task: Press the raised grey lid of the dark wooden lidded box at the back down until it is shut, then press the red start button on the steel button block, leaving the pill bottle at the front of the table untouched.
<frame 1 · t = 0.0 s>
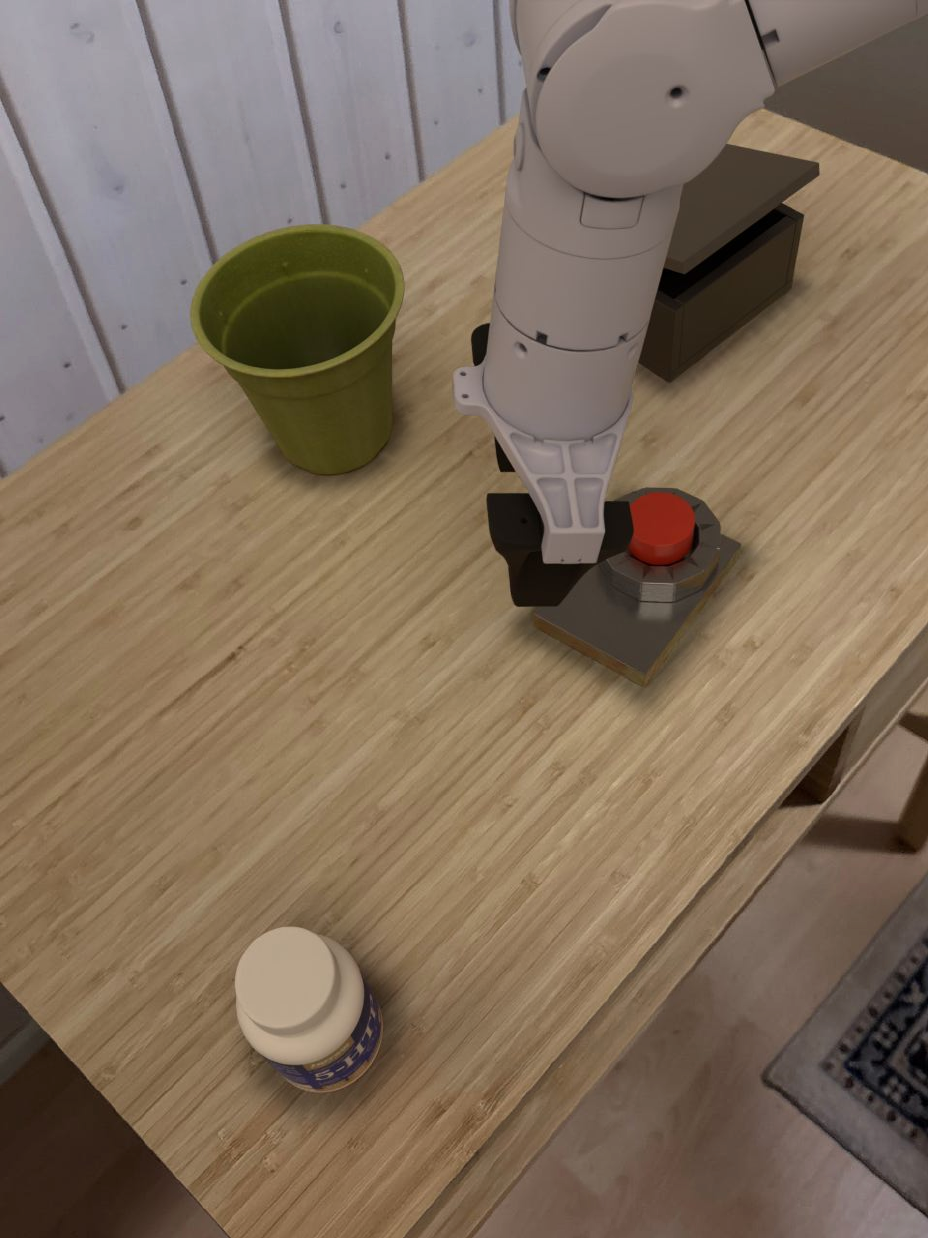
hand: (528, 530, 52), 11 cm above the table, tool pointing down, fingers open, 7 cm apart
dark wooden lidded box: (670, 296, 76), on the table
lid: (679, 198, 69), point 8 cm above the table, hinge at 15.0°
button block: (637, 591, 63), on the table
pill bottle: (328, 1033, 52), on the table
start button: (659, 528, 61), point 4 cm above the table, slide at 0.1 cm
plant pot: (336, 437, 72), on the table
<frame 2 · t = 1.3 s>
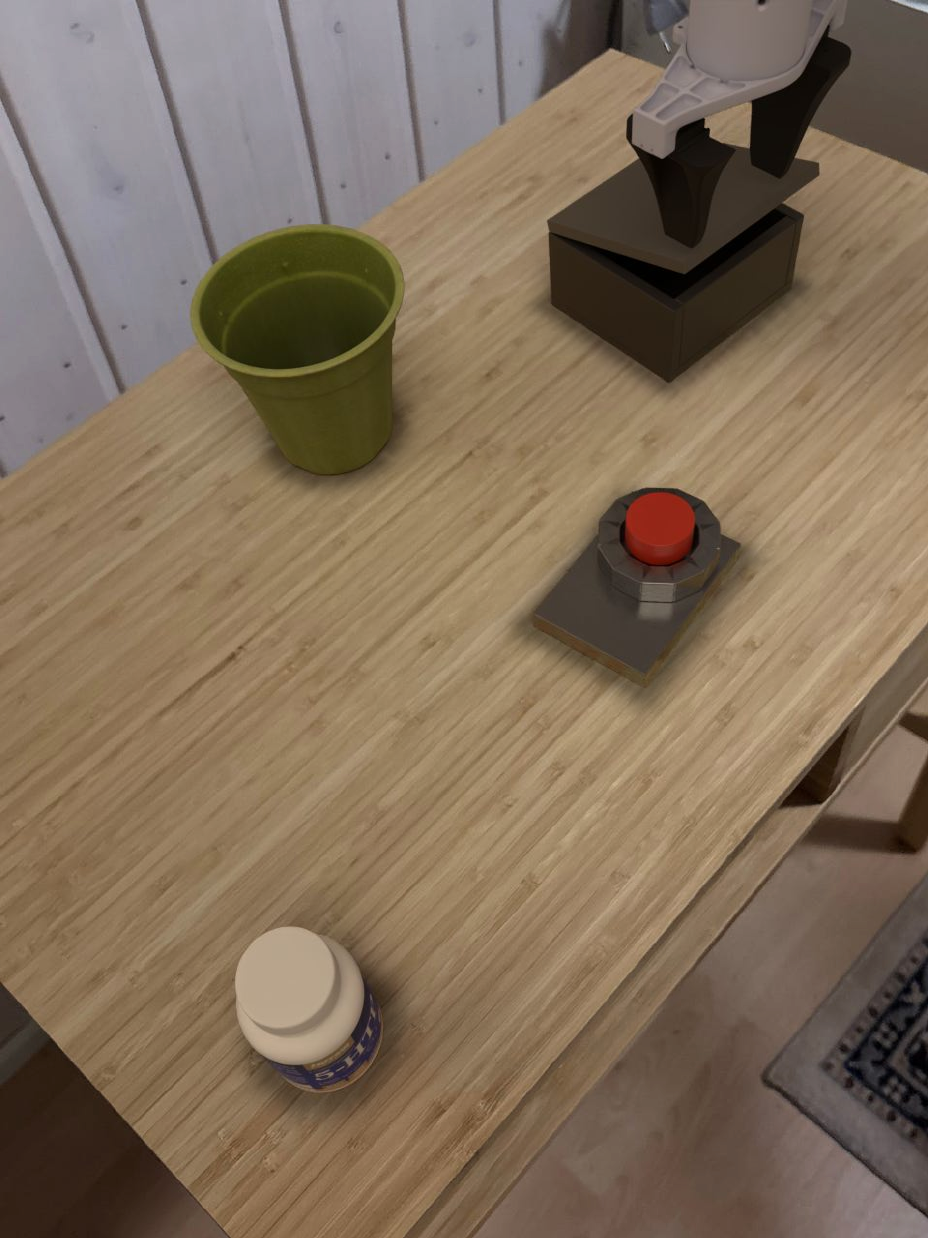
hand: (726, 202, 64), 10 cm above the table, tool pointing down, fingers open, 7 cm apart
nothing on the table moved.
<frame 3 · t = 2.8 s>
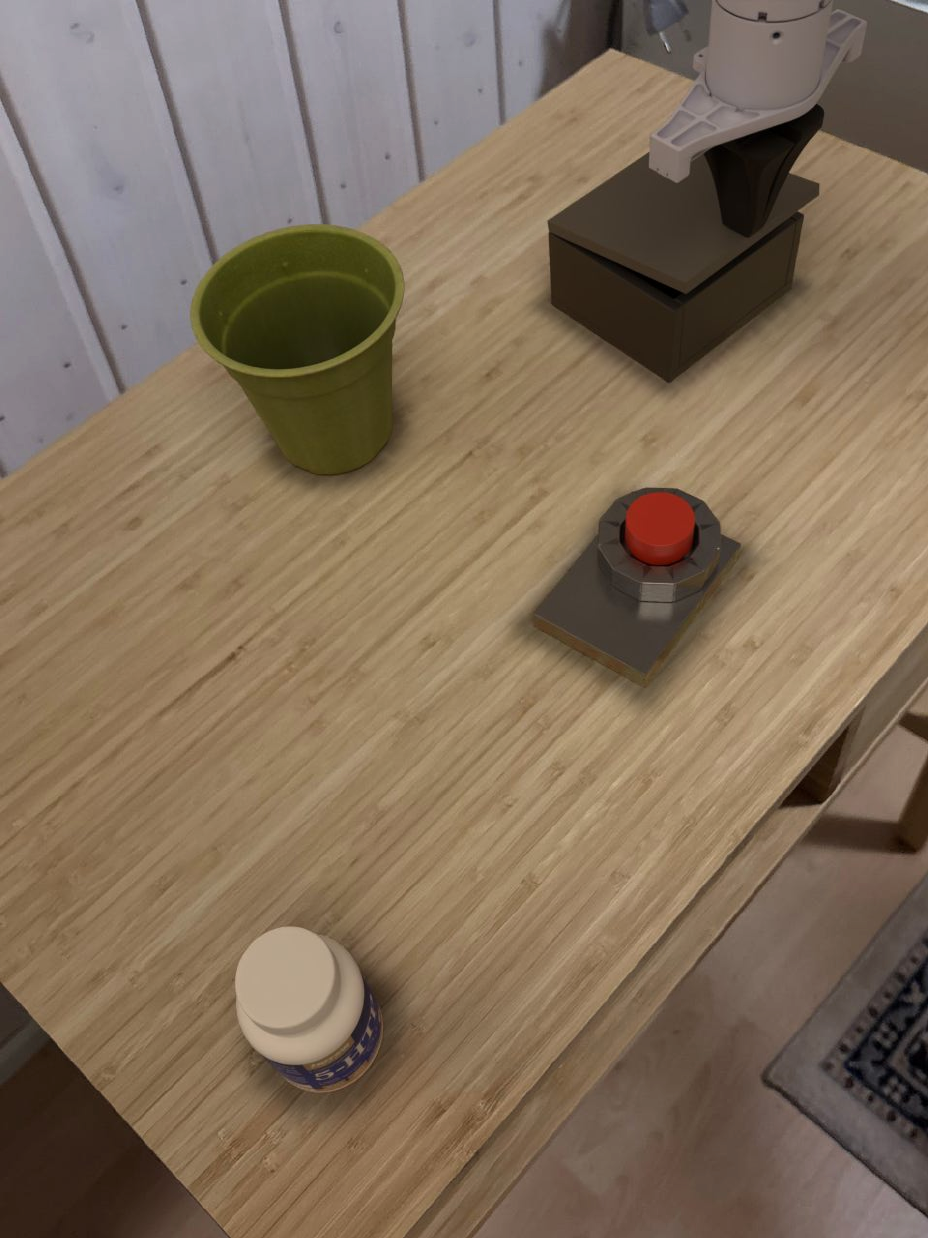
hand: (742, 225, 66), 8 cm above the table, tool pointing down, fingers closed, pressing on lid
lid: (680, 208, 70), point 7 cm above the table, hinge at 8.4°, touching gripper
everything else where it was.
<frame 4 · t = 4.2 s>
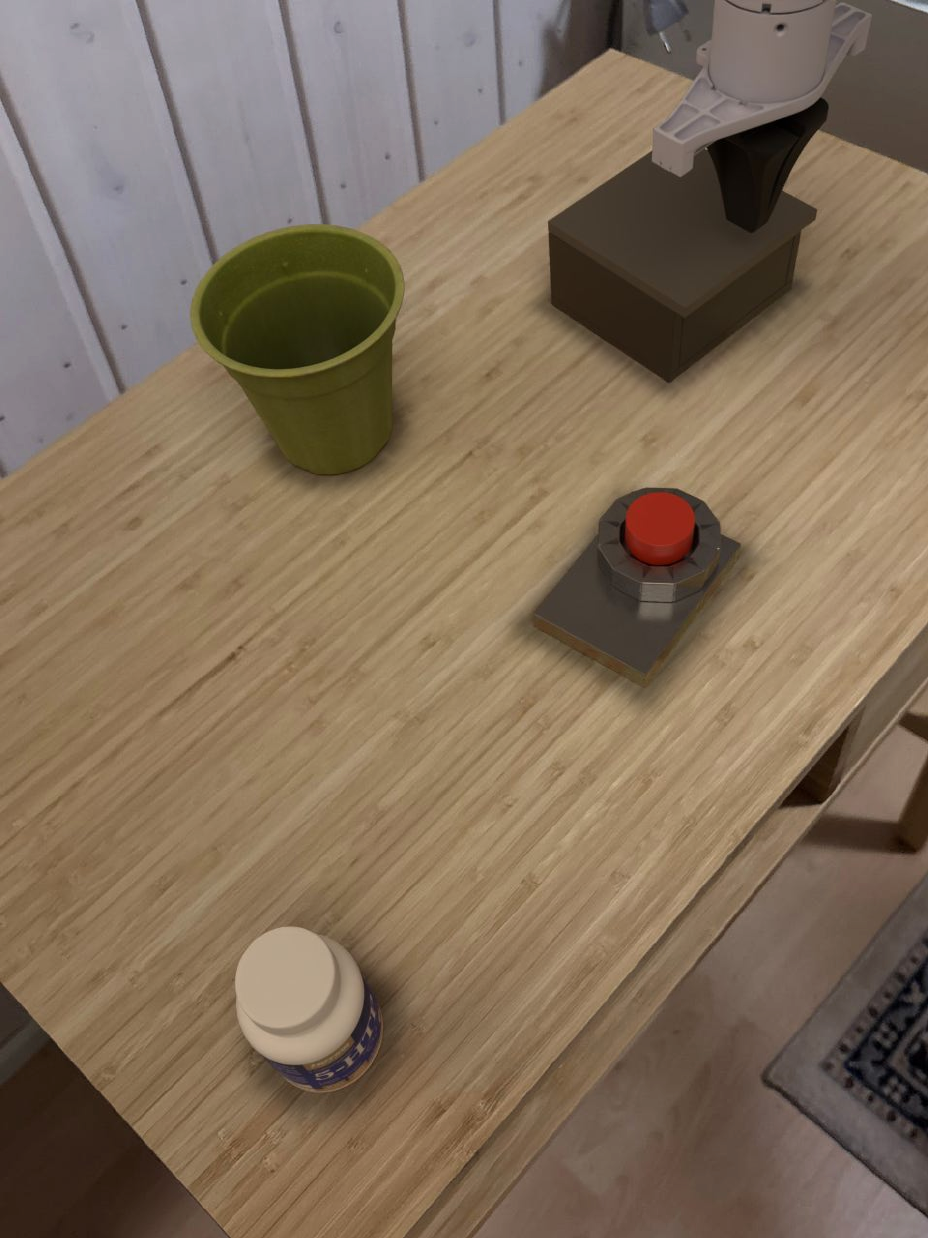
hand: (746, 220, 66), 9 cm above the table, tool pointing down, fingers closed
lid: (680, 220, 70), point 6 cm above the table, hinge at -0.3°, touching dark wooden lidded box
everything else where it was.
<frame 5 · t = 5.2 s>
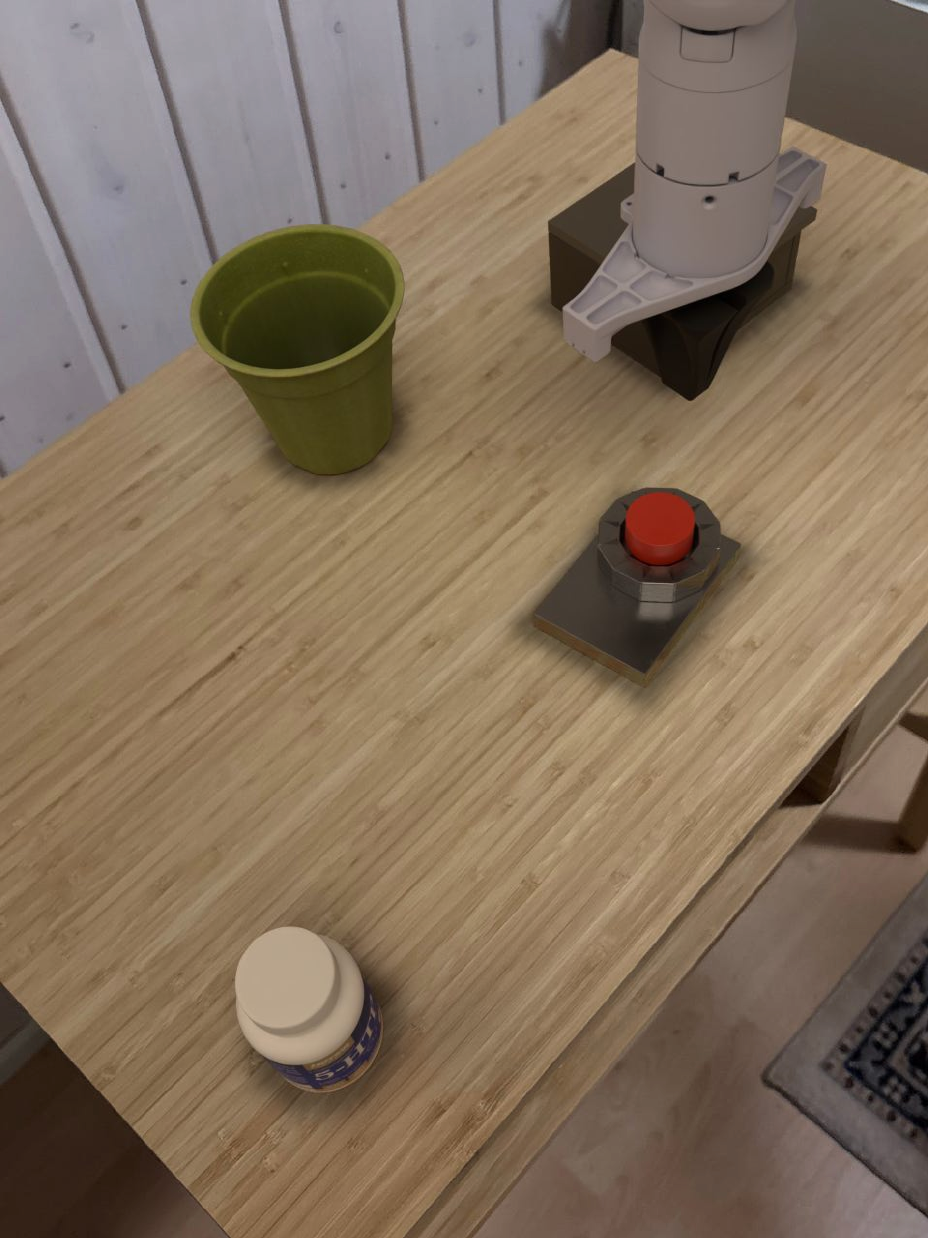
hand: (685, 384, 57), 10 cm above the table, tool pointing down, fingers closed
nothing on the table moved.
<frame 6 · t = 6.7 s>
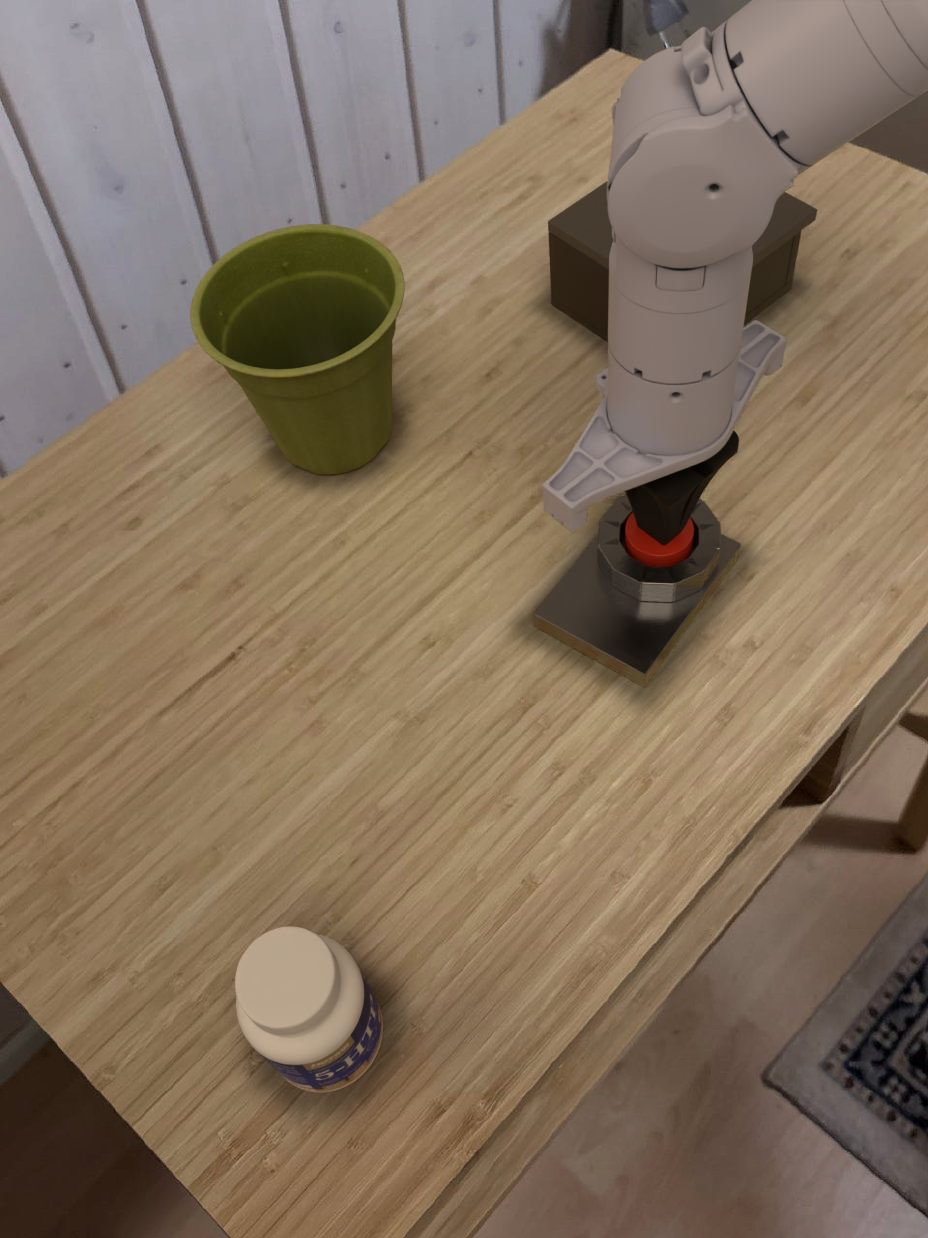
hand: (659, 528, 61), 3 cm above the table, tool pointing down, fingers closed, pressing on start button
start button: (658, 538, 62), point 3 cm above the table, slide at -0.7 cm, touching gripper
everything else where it was.
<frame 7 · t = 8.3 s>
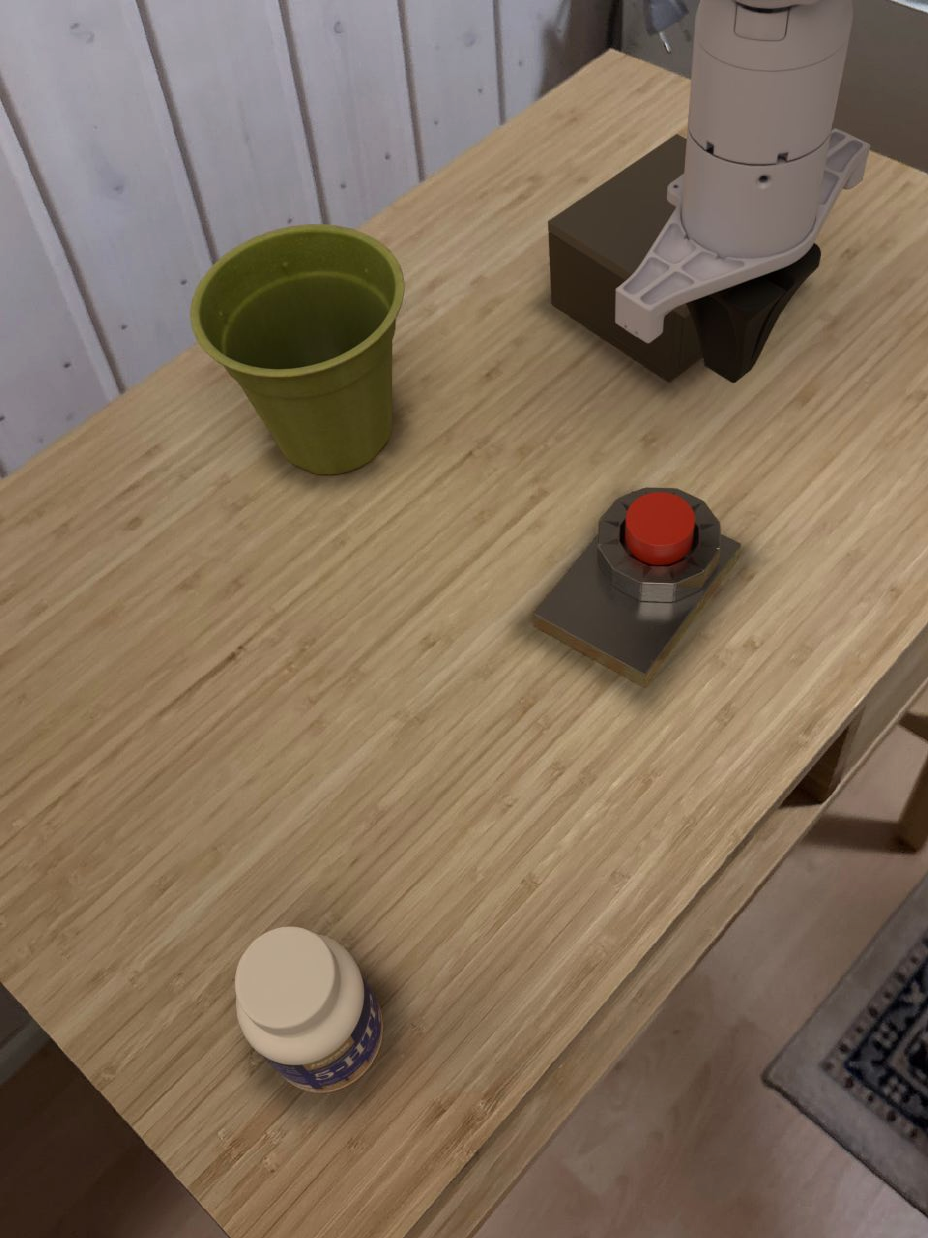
hand: (727, 367, 58), 10 cm above the table, tool pointing down, fingers closed
start button: (659, 528, 61), point 4 cm above the table, slide at 0.1 cm
everything else where it was.
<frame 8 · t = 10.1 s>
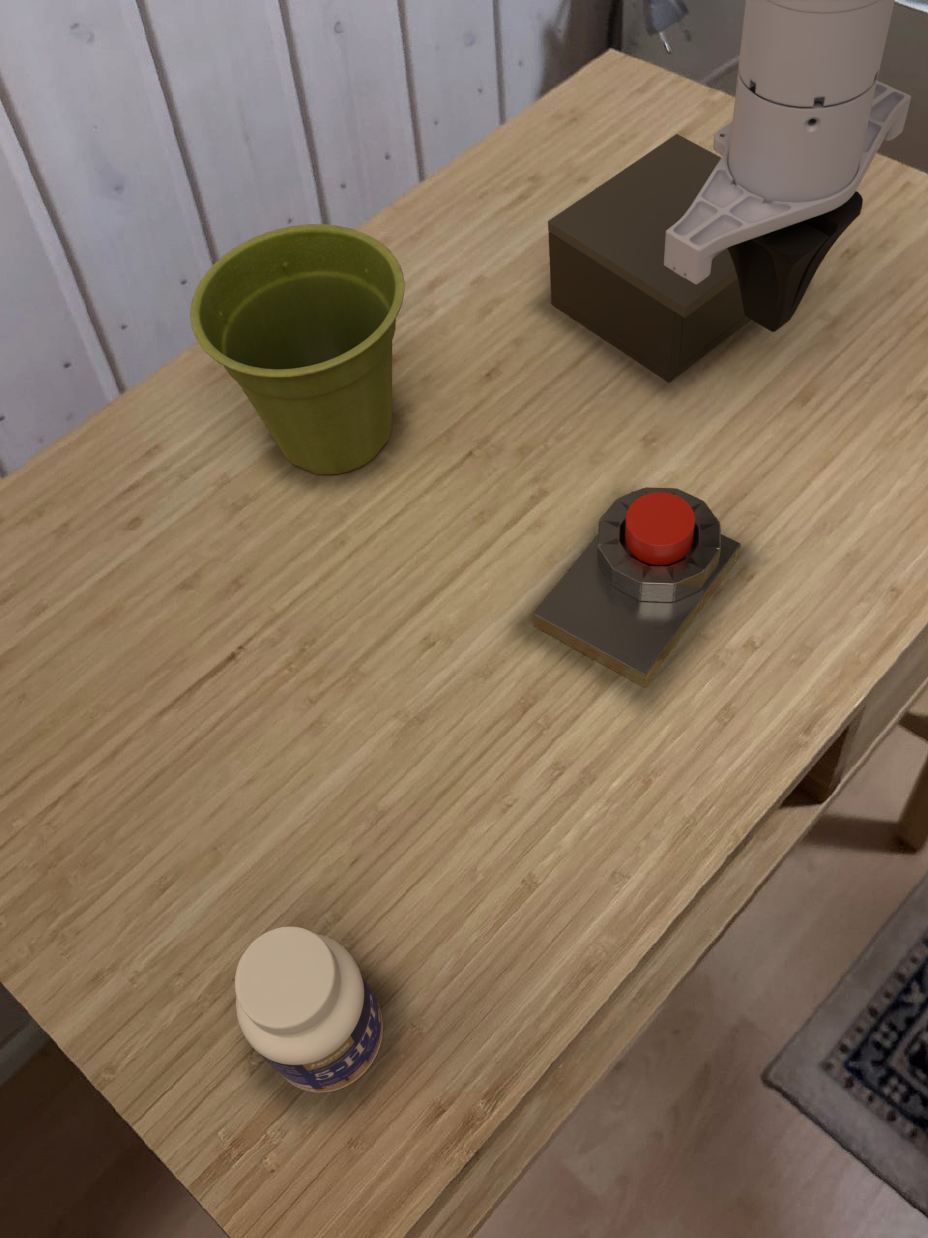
hand: (767, 316, 59), 10 cm above the table, tool pointing down, fingers closed
nothing on the table moved.
at the end: lid at +0° (first picture: +15°); start button pushed in 1.1 cm at the most during the clip, back to where it started at the end; pill bottle moved 0.2 cm from its start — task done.
